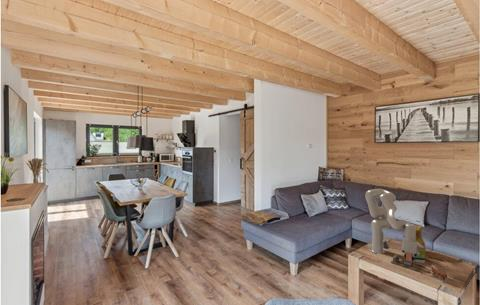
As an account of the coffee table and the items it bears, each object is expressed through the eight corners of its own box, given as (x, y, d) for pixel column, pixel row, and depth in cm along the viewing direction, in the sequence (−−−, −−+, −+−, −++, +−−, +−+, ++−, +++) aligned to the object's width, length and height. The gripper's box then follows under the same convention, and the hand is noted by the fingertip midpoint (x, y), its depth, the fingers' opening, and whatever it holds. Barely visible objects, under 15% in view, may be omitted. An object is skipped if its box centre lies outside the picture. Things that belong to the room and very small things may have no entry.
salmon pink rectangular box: (403, 265, 201) (404, 250, 200) (406, 262, 207) (406, 247, 206) (410, 268, 197) (411, 252, 197) (413, 264, 203) (413, 249, 202)
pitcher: (401, 251, 228) (403, 226, 227) (403, 246, 242) (405, 221, 241) (423, 258, 217) (425, 231, 216) (425, 251, 231) (427, 226, 230)
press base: (390, 264, 206) (391, 257, 206) (394, 259, 215) (395, 252, 214) (422, 274, 190) (422, 267, 190) (425, 269, 198) (425, 262, 198)
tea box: (425, 264, 206) (426, 247, 205) (412, 263, 208) (412, 246, 207) (416, 255, 221) (416, 240, 220) (404, 254, 223) (404, 239, 222)
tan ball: (397, 263, 206) (398, 259, 206) (399, 261, 209) (399, 257, 208) (402, 264, 203) (402, 260, 203) (403, 263, 206) (404, 259, 206)
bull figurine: (432, 273, 193) (432, 263, 192) (448, 283, 179) (448, 272, 179) (427, 273, 192) (427, 263, 192) (443, 283, 179) (443, 273, 178)
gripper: (397, 236, 204) (396, 257, 205) (421, 243, 192) (420, 265, 193) (399, 234, 209) (398, 254, 210) (423, 240, 197) (422, 261, 198)
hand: (409, 259), depth 201 cm, fingers closed on salmon pink rectangular box, 4 cm apart
